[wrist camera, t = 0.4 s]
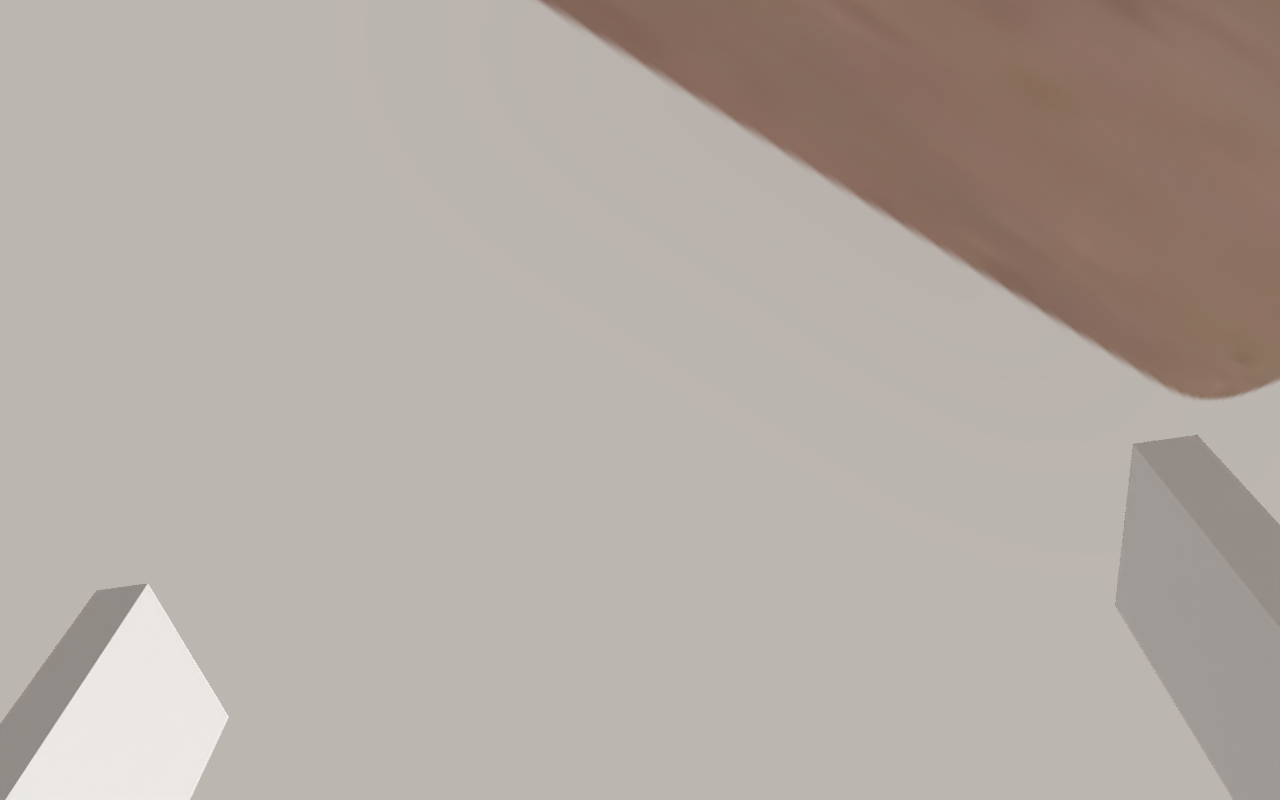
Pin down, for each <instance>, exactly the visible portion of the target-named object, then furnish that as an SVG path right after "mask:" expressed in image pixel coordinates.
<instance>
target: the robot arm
mask: <svg viewBox="0 0 1280 800" xmlns="http://www.w3.org/2000/svg"><path fill="white" fill-rule="evenodd" d="M1115 606H1116V608H1117V609H1118V611H1119V613H1120V614H1121V616H1122V618H1123V619H1124V621H1125V623H1126V624H1127V626H1128V627H1129V629H1130V631H1131V632H1132V634H1133V636H1134V637H1135V639H1136V641H1137V642H1138V644H1139V645H1140V647H1141V649H1142V650H1143V652H1144V654H1145V655H1146V657H1147V659H1148V660H1149V662H1150V663H1151V665H1152V667H1153V669H1154V670H1155V672H1156V673H1157V675H1158V677H1159V678H1160V680H1161V682H1162V683H1163V685H1164V687H1165V688H1166V690H1167V691H1168V693H1169V695H1170V696H1171V698H1172V700H1173V701H1174V703H1175V704H1176V706H1177V708H1178V710H1179V711H1180V713H1181V714H1182V716H1183V718H1184V719H1185V721H1186V723H1187V724H1188V726H1189V727H1190V729H1191V731H1192V732H1193V734H1194V736H1195V738H1196V739H1197V741H1198V742H1199V744H1200V745H1201V747H1202V749H1203V751H1204V752H1205V754H1206V755H1207V757H1208V759H1209V761H1210V762H1211V764H1212V765H1213V767H1214V769H1215V770H1216V772H1217V774H1218V775H1219V777H1220V778H1221V780H1222V782H1223V783H1224V785H1225V787H1226V788H1227V790H1228V792H1229V793H1230V795H1231V797H1232V798H1233V800H1280V525H1279V524H1278V523H1277V521H1276V520H1275V519H1274V518H1273V517H1272V516H1271V515H1270V514H1269V513H1268V512H1267V511H1266V509H1265V508H1264V507H1263V506H1262V505H1261V504H1260V503H1259V502H1258V501H1257V500H1256V499H1255V498H1254V496H1253V495H1252V494H1251V493H1250V492H1249V491H1248V490H1247V489H1246V488H1245V487H1244V485H1243V484H1242V483H1241V482H1240V481H1239V480H1238V479H1237V478H1236V477H1235V476H1234V475H1233V474H1232V473H1231V471H1230V470H1229V469H1228V468H1227V467H1226V466H1225V465H1224V464H1223V463H1222V462H1221V460H1220V459H1219V458H1218V457H1217V456H1216V455H1215V454H1214V453H1213V452H1212V451H1211V449H1210V448H1209V447H1208V446H1207V445H1206V444H1205V443H1204V442H1203V441H1202V440H1201V439H1200V437H1199V436H1198V435H1194V436H1186V437H1180V438H1172V439H1165V440H1158V441H1151V442H1144V443H1137V444H1133V450H1132V459H1131V467H1130V476H1129V486H1128V495H1127V503H1126V512H1125V521H1124V531H1123V540H1122V549H1121V559H1120V567H1119V576H1118V584H1117V594H1116V602H1115ZM227 719H228V715H227V714H226V712H225V710H224V709H223V707H222V705H221V704H220V702H219V700H218V699H217V697H216V695H215V694H214V692H213V690H212V689H211V687H210V685H209V684H208V682H207V680H206V679H205V677H204V675H203V674H202V672H201V670H200V669H199V667H198V666H197V664H196V662H195V661H194V659H193V657H192V656H191V654H190V652H189V651H188V649H187V647H186V646H185V644H184V642H183V641H182V639H181V637H180V636H179V634H178V633H177V631H176V629H175V628H174V626H173V624H172V622H171V621H170V619H169V618H168V616H167V614H166V613H165V611H164V609H163V608H162V606H161V604H160V603H159V601H158V599H157V598H156V596H155V594H154V593H153V591H152V589H151V588H150V586H149V584H141V585H133V586H127V587H119V588H113V589H106V590H98V591H96V592H95V593H94V595H93V596H92V597H91V599H90V600H89V602H88V603H87V604H86V606H85V607H84V609H83V610H82V611H81V613H80V614H79V616H78V617H77V618H76V620H75V621H74V623H73V624H72V625H71V627H70V628H69V629H68V631H67V632H66V634H65V635H64V636H63V638H62V639H61V640H60V642H59V643H58V645H57V646H56V647H55V649H54V650H53V652H52V653H51V654H50V656H49V657H48V659H47V660H46V661H45V663H44V664H43V665H42V667H41V668H40V670H39V671H38V672H37V674H36V675H35V677H34V678H33V679H32V681H31V682H30V684H29V685H28V686H27V688H26V689H25V691H24V692H23V693H22V695H21V696H20V698H19V699H18V700H17V702H16V703H15V704H14V706H13V707H12V709H11V710H10V711H9V713H8V714H7V716H6V717H5V718H4V720H3V721H2V722H1V724H0V800H190V798H191V796H192V794H193V792H194V790H195V788H196V786H197V783H198V781H199V779H200V777H201V775H202V773H203V771H204V769H205V766H206V764H207V762H208V760H209V758H210V756H211V753H212V751H213V749H214V747H215V745H216V743H217V741H218V738H219V737H220V734H221V732H222V730H223V728H224V726H225V724H226V721H227Z"/></svg>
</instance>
